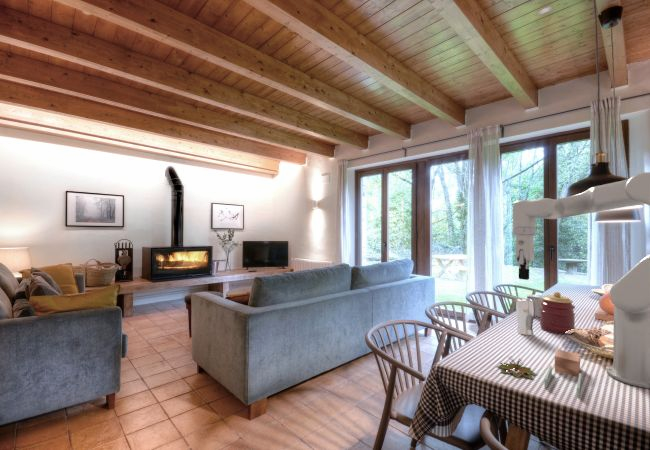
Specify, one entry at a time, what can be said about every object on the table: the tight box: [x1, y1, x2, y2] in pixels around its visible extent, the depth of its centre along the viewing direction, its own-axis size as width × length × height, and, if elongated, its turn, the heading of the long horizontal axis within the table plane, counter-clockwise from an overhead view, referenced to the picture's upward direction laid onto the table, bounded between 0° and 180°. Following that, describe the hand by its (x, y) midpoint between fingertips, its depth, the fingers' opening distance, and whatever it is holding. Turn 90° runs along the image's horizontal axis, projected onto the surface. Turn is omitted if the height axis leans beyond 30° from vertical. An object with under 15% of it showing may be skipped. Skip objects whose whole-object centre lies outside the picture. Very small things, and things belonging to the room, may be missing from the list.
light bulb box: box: [526, 293, 546, 318], centre depth 165 cm, size 11×7×11 cm, turn 58°
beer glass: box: [515, 297, 535, 337], centre depth 136 cm, size 7×7×15 cm
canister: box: [539, 291, 576, 335], centre depth 141 cm, size 13×13×18 cm
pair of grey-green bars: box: [544, 365, 582, 398], centre depth 91 cm, size 8×12×2 cm, turn 138°
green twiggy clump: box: [496, 355, 538, 380], centre depth 99 cm, size 12×12×5 cm
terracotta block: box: [554, 348, 581, 378], centre depth 101 cm, size 6×8×5 cm
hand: (523, 279), depth 118 cm, fingers closed
